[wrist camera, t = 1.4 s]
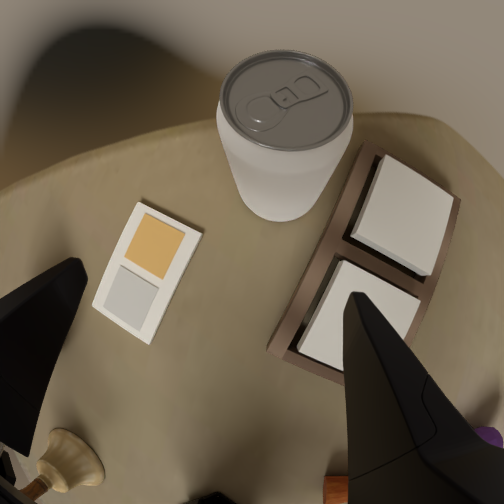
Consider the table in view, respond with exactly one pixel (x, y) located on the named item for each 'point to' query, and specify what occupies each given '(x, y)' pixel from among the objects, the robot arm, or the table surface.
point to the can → (283, 129)
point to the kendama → (338, 485)
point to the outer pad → (404, 216)
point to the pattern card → (145, 271)
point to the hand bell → (65, 465)
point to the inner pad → (332, 307)
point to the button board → (343, 250)
